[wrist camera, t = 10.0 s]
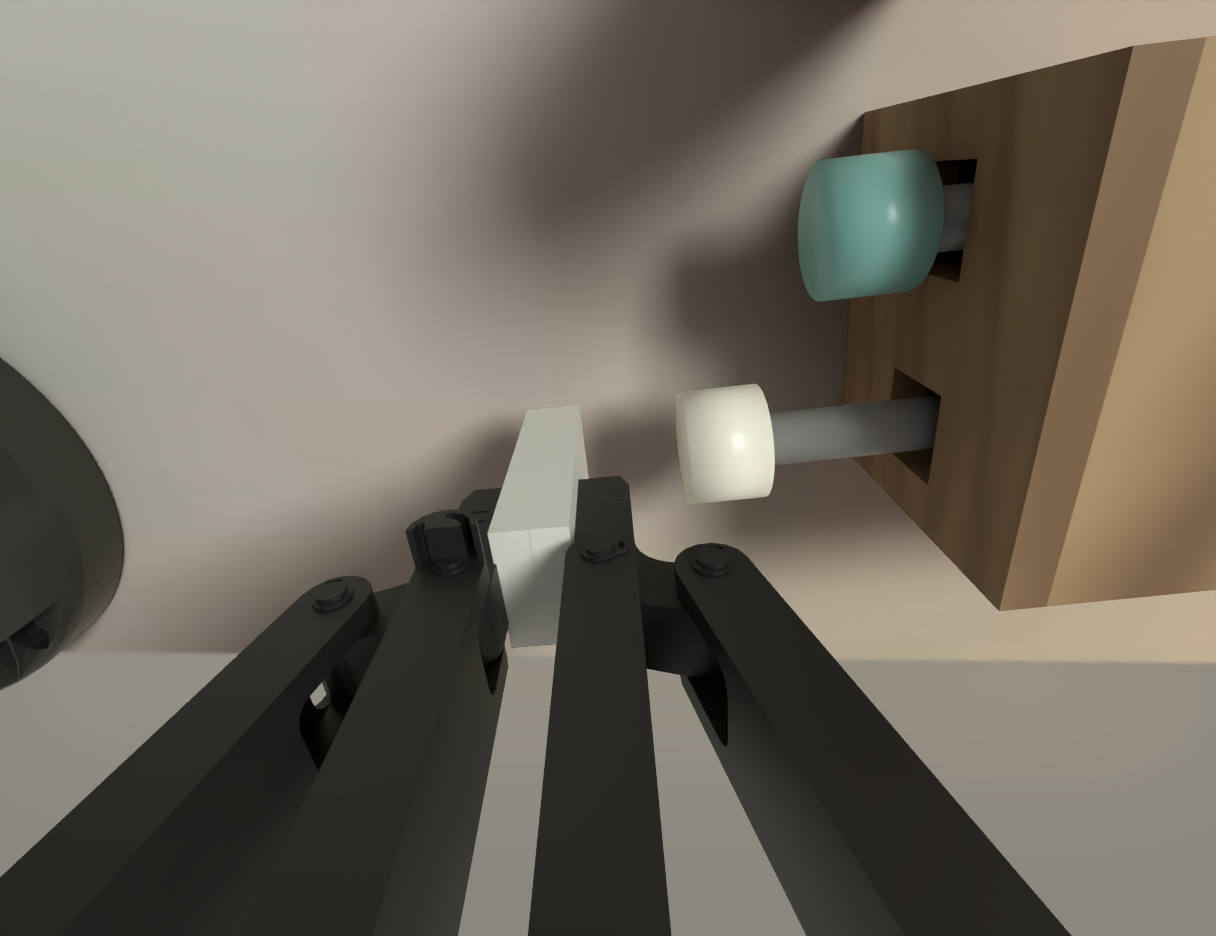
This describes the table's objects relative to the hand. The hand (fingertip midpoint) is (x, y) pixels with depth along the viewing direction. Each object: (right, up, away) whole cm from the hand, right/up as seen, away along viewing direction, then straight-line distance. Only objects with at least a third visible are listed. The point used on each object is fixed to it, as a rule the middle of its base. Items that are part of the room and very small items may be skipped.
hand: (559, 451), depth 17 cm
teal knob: (+10, +6, -2) cm, 12 cm away
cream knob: (+7, +1, 0) cm, 7 cm away
